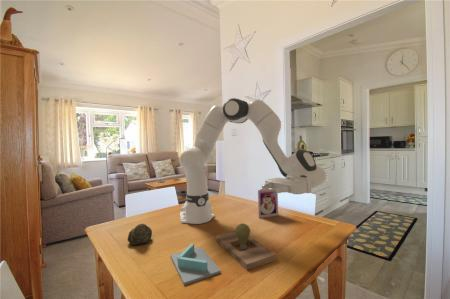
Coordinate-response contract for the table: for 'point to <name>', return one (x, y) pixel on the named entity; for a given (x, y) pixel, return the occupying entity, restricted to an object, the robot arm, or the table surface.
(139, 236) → the seashell
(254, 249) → the wooden board with hole
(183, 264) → the V-block
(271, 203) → the greeting card
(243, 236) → the light bulb
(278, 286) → the table surface
